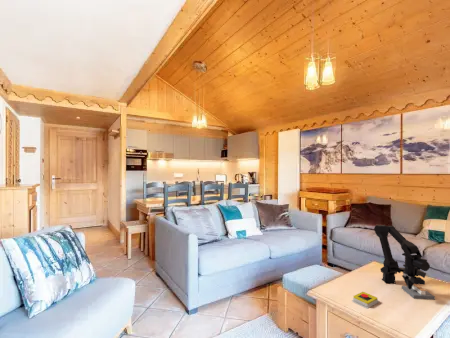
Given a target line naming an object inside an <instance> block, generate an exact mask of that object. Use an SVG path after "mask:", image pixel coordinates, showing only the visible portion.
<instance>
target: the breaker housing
mask: <svg viewBox="0 0 450 338" xmlns="http://www.w3.org/2000/svg"><path fill="white" fill-rule="evenodd" d="M402 289H403V291H404V292H405V293H406V294H408V295H409V296H410V297H411V298H412V299H413V300H414V299H415V300H416V299H417V300H431V301H432V300H433V301H434V300H435V299H436V297H435V295H434V294H432V293H430V292H429V291H428V290H427V289H425V295H421V294H420V293H418V292H417V291H415V290H414V289H413V288H411V289H408V287H407V285H402V286H401V290H402Z"/></svg>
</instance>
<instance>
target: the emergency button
mask: <svg viewBox="0 0 450 338" xmlns="http://www.w3.org/2000/svg"><path fill="white" fill-rule="evenodd" d="M351 302H352V303H354V304H356V305H358V306H360V307H362V308H363V309H369V308H372V306H374V305H376V304H378V303H379V302H380V300H378V297H377V296H374V295H372V294H370V293H368V292H366V291H361V292H358V293H357V294H355V295H353V298H352V300H351Z"/></svg>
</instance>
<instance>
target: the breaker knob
mask: <svg viewBox="0 0 450 338" xmlns="http://www.w3.org/2000/svg"><path fill="white" fill-rule="evenodd" d="M412 288H413V289H414V290H415V291H417V292H418V293H420V294H421V295H425V290H426V289H425V288H424V287H422V286H421V285H420V284H413V286H412Z"/></svg>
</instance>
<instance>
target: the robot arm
mask: <svg viewBox="0 0 450 338" xmlns="http://www.w3.org/2000/svg"><path fill="white" fill-rule="evenodd" d="M374 233H375V235H376V236H377V237H378V239H379V242H380V246H381V249H382V253H383V257H384V260H383V266H382V267H381V268H380V272H381V274H382V278H381V280H382V281H383V282H384V283H386V284H394V285H396V275H397V274H401V273H402V275H401V277H402V279H403V280H404V283H405V284H406V286H407V287H408V289H411V288H412V286H413V284H418V285H426V280H424V279H425V278H426V276H427V273H426V272H427V271H429V269H430V268H431V267H430V266H431V265H430V263H429V262H428V260H427V259H426V258H423V255H422V254H421V251H420V250H419V247H418V246H417V245H416V244H415V243H414V242H412V241H409V240H408V239H406V238H405V237H404V236H403V235H402V234H401V233H400V231H398V230H397V229H396V227H395V226H393V225H385V224H382V225H381V224H379V225H378V224H377V225H375V226H374ZM389 235H390V236H391V237H392V238H394V239H395V241H396V242H398V244H399V245H400V247H401V250H402V251H403V253H402V254H401V255H402V256H404V264H402V266H403V267H400V266H399V264H398V260H395V259H394V258H393V254H392V250H391V246H390V243H389V239H388V237H389ZM421 277H422V278H421Z"/></svg>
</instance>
